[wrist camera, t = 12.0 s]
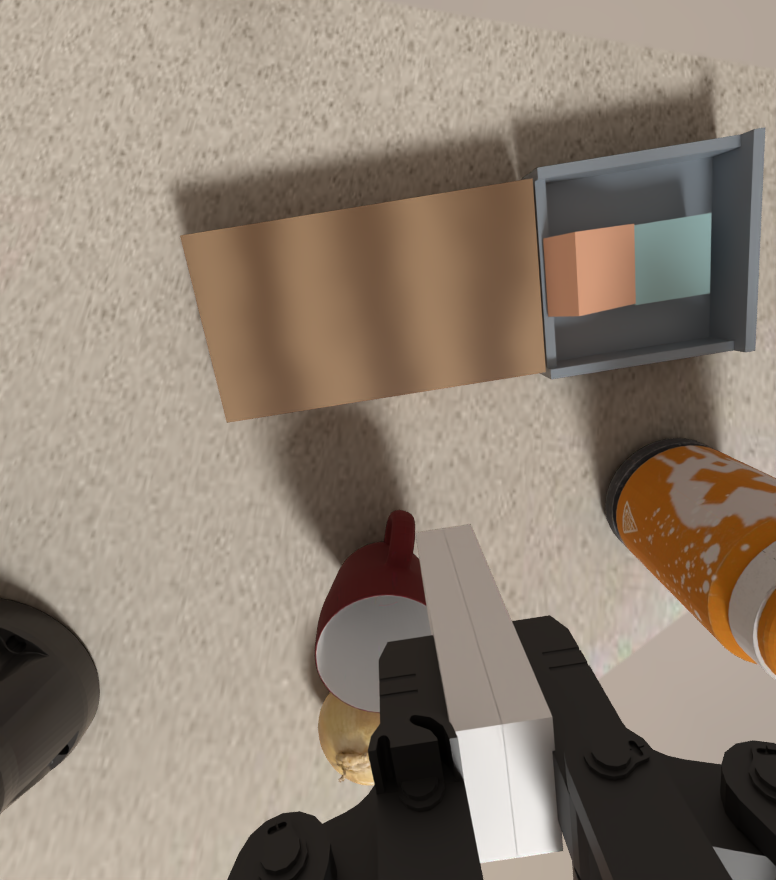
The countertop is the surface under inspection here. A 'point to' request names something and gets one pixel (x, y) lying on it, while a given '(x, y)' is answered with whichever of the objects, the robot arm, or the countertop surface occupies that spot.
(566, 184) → the box
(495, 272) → the tan wooden flat box
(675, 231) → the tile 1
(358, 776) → the onion
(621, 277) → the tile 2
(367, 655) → the mug
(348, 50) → the countertop surface
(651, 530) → the canister
